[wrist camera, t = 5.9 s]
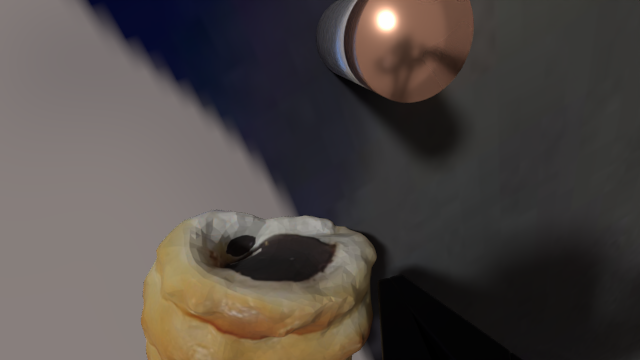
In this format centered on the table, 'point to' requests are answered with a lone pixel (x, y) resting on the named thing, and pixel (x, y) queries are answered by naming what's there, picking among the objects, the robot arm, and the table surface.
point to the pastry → (258, 290)
